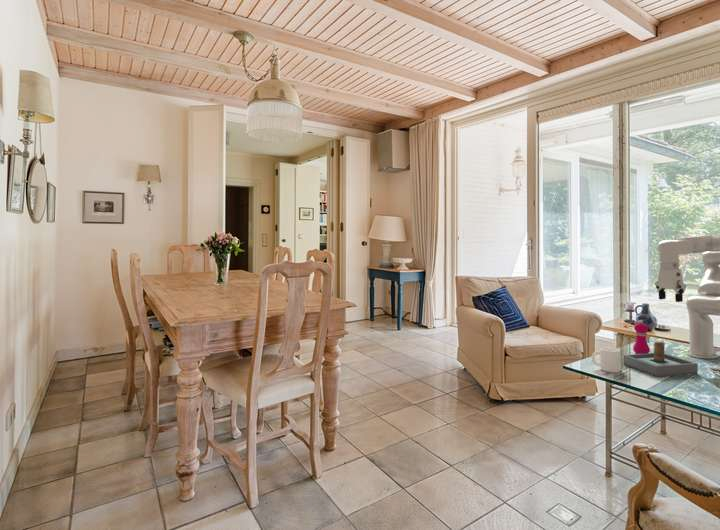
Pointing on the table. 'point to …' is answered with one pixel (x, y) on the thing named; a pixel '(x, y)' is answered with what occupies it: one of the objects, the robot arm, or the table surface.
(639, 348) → the pepper mill
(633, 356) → the tray
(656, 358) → the peg
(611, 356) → the mug
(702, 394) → the table surface
